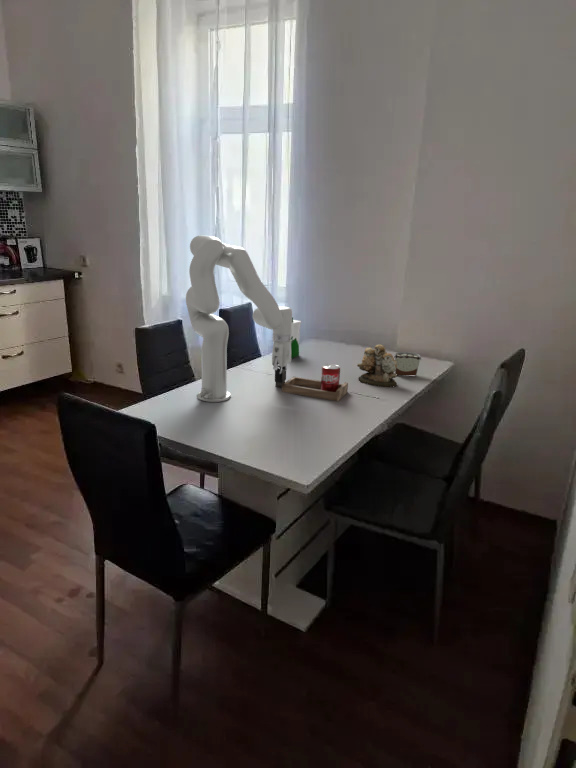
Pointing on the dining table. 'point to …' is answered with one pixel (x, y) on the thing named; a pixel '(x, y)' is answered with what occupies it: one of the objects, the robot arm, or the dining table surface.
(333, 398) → the wooden tray frame
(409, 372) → the food container
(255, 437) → the dining table surface
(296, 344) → the milk carton
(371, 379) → the owl figurine
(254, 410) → the dining table surface
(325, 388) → the soda can
